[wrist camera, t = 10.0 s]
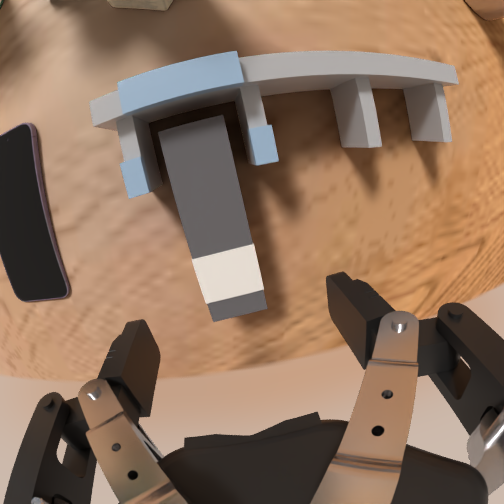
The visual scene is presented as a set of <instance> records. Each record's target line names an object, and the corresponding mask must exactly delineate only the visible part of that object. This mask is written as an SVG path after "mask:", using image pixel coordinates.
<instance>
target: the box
mask: <svg viewBox="0 0 504 504" xmlns="http://www.w3.org/2000/svg"><path fill="white" fill-rule="evenodd" d="M107 1H108V2H109V4H110V5H111V6H112V7H119V8H137V9H150V10H162V11H166V10H168V8H169V6H170V4H171V3H172V1H173V0H107Z"/></svg>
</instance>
